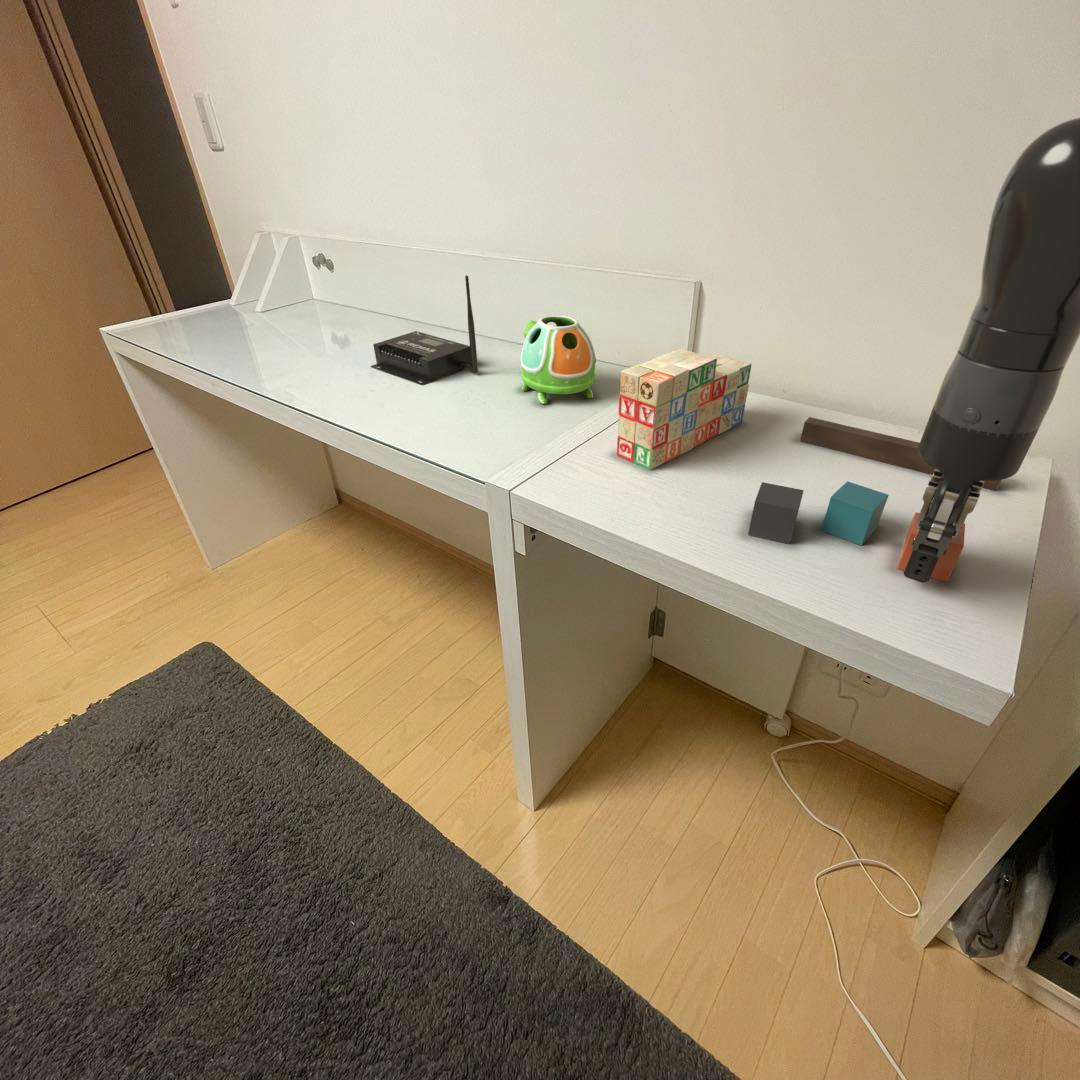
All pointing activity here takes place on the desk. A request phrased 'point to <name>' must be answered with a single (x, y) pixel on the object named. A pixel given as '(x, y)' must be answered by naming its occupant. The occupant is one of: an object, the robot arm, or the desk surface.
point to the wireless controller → (427, 354)
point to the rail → (869, 445)
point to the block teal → (854, 512)
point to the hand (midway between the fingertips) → (916, 576)
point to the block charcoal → (775, 512)
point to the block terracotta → (944, 563)
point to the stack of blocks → (678, 404)
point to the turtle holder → (557, 358)
